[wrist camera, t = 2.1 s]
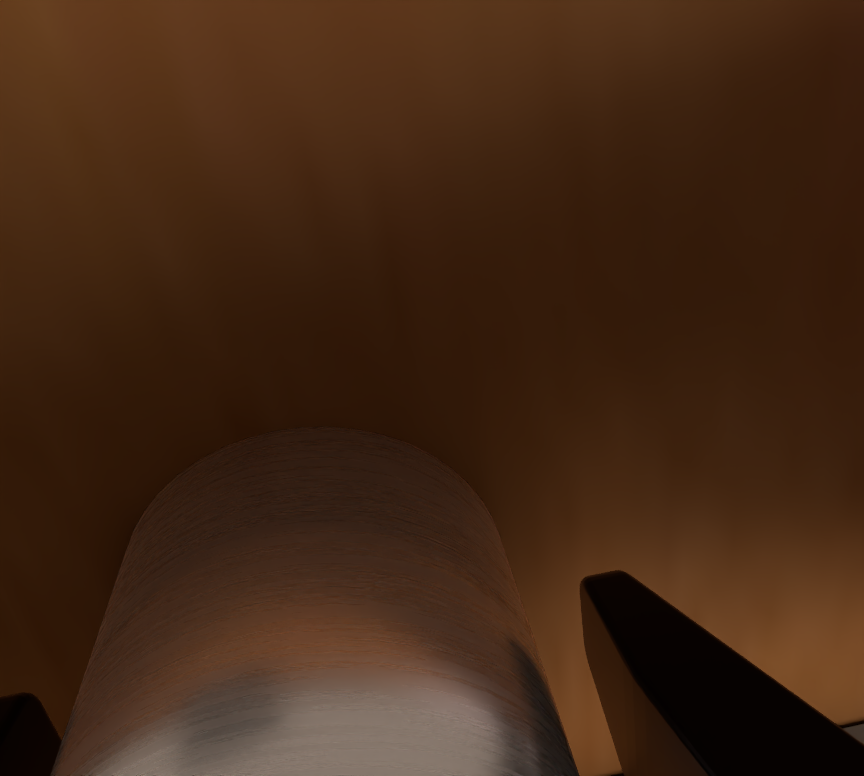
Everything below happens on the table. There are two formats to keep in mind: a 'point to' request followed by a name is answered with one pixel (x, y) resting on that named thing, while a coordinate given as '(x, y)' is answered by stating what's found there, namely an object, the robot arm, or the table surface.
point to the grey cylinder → (315, 625)
